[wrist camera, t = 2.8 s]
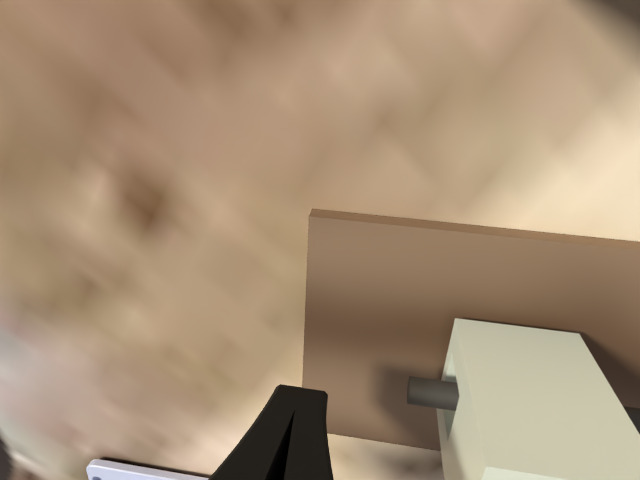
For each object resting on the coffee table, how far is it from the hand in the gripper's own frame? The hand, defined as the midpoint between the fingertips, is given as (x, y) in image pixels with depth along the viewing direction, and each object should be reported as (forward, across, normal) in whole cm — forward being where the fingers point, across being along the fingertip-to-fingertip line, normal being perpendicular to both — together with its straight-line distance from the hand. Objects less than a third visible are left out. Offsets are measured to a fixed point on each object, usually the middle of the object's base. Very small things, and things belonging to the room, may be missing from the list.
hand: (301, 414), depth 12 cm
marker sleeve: (+3, -6, 0) cm, 7 cm away
